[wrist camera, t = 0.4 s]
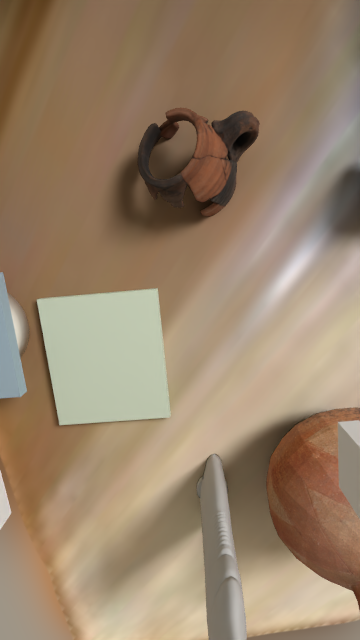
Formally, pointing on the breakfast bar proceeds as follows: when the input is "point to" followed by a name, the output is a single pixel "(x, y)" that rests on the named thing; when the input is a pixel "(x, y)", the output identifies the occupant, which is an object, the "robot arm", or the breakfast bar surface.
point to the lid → (9, 351)
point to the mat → (106, 356)
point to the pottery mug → (201, 157)
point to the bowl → (19, 324)
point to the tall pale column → (220, 557)
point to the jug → (315, 499)
